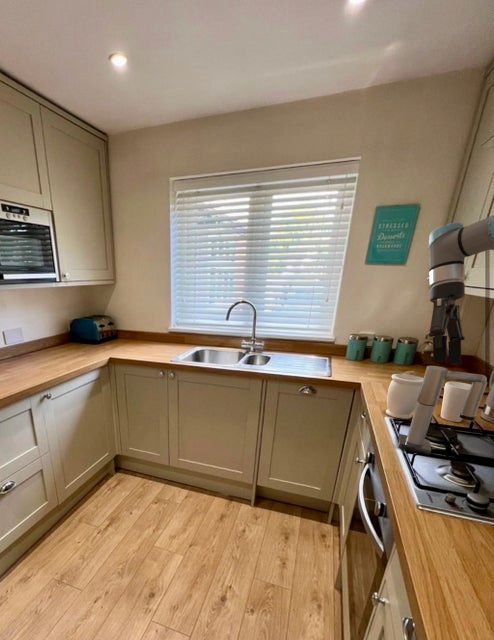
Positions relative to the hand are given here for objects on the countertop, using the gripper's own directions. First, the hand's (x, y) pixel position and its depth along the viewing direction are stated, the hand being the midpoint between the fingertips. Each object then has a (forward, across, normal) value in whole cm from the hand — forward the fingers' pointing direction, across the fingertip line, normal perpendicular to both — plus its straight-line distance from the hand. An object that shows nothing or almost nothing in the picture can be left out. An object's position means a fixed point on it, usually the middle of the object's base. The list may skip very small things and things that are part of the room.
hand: (447, 362), depth 90 cm
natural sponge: (+8, -63, -30) cm, 71 cm away
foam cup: (+18, -43, -10) cm, 47 cm away
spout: (+14, -5, -3) cm, 16 cm away
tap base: (+25, -6, -10) cm, 27 cm away
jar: (+17, -29, -22) cm, 40 cm away
